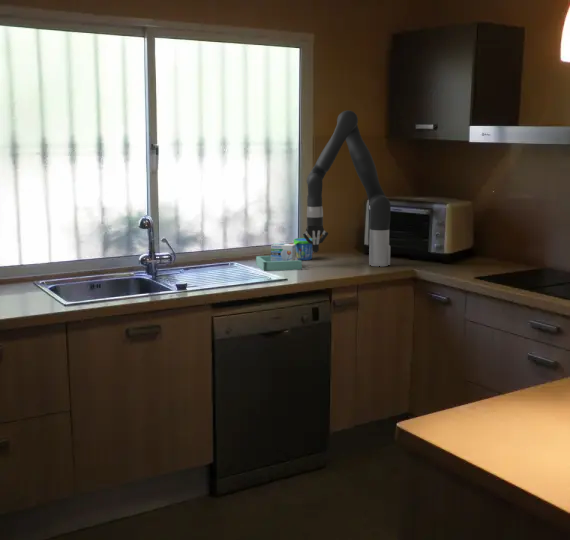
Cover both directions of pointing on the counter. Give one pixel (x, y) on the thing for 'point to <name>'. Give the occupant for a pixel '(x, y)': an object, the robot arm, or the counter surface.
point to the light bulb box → (282, 252)
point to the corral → (277, 264)
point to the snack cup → (303, 249)
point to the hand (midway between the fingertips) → (315, 252)
